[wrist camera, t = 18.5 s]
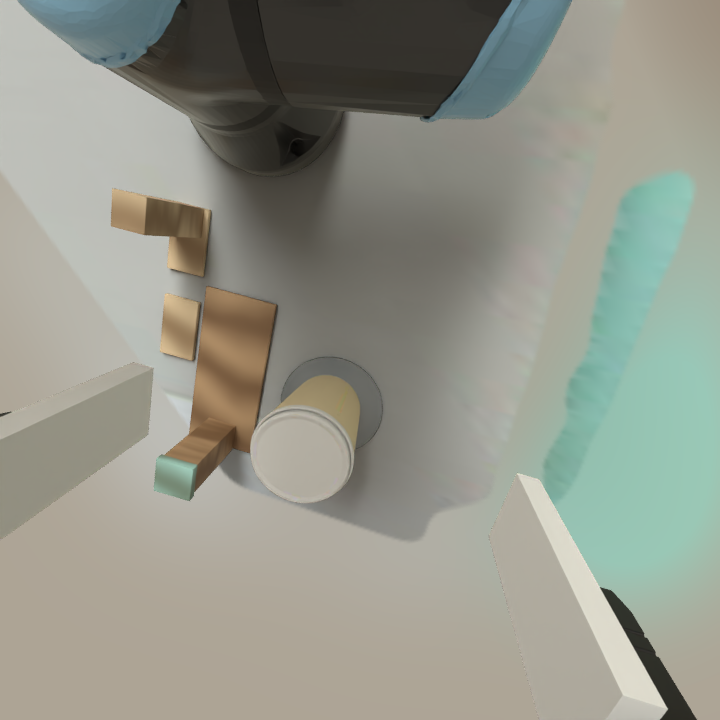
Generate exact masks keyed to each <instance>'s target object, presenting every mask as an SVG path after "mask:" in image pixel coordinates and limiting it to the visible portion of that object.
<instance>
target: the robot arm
mask: <svg viewBox="0 0 720 720" xmlns="http://www.w3.org/2000/svg"><path fill="white" fill-rule="evenodd" d="M17 1H18V2H19V3H20V4H21V5H22V6H23V7H24V9H25V10H26V11H27V12H28V13H29V14H30V15H32V16H33V17H34V18H35V19H36V20H37V21H38V22H40V23H41V24H42V25H43V26H45V27H46V28H48V29H49V30H50V31H52V32H53V33H54V34H56V35H57V36H58V37H59V38H61V39H62V40H63V41H65V42H66V43H67V44H69V45H70V46H71V47H72V48H73V49H74V50H75V51H77V52H78V53H79V54H80V55H81V56H83V57H84V58H86V59H88V60H89V61H91V62H92V63H94V64H99V65H102V66H104V67H106V68H107V69H109V70H111V71H112V72H114V73H116V74H117V75H119V76H121V77H123V78H124V79H126V80H128V81H129V82H131V83H133V84H134V85H136V86H138V87H140V88H141V89H143V90H145V91H146V92H148V93H150V94H151V95H153V96H155V97H157V98H158V99H160V100H162V101H163V102H165V103H167V104H168V105H170V106H172V107H174V108H175V109H177V110H179V111H180V112H182V113H184V114H185V115H187V116H188V117H189V118H190V120H191V122H192V124H193V126H194V127H195V129H196V131H197V132H198V134H199V135H200V137H201V138H202V139H203V141H204V142H205V143H206V144H207V145H208V146H209V147H210V149H212V150H213V151H214V152H215V153H216V154H217V155H218V156H219V157H221V158H222V159H223V160H225V161H226V162H228V163H230V164H232V165H233V166H236V167H238V168H240V169H242V170H244V171H246V172H249V173H252V174H255V175H260V176H270V177H273V176H283V175H287V174H291V173H294V172H296V171H298V170H300V169H302V168H304V167H306V166H307V165H309V164H310V163H312V162H313V161H314V160H315V159H316V158H318V157H319V156H320V155H321V154H322V152H323V151H324V150H325V149H326V147H327V146H328V145H329V143H330V142H331V140H332V139H333V137H334V135H335V133H336V131H337V129H338V126H339V124H340V121H341V118H342V115H343V111H351V112H363V113H376V114H389V115H402V116H414V117H420V120H421V121H424V122H433V121H436V120H438V119H484V118H489V117H491V116H493V115H495V114H496V113H498V112H499V111H500V110H502V109H503V108H505V107H507V106H508V105H509V104H510V103H511V102H512V101H513V100H514V99H515V98H516V97H517V96H518V95H519V94H520V92H521V91H522V90H523V89H524V87H525V86H526V85H527V83H528V82H529V80H530V79H531V77H532V76H533V74H534V73H535V71H536V69H537V68H538V66H539V64H540V63H541V61H542V59H543V58H544V56H545V54H546V52H547V50H548V49H549V47H550V45H551V43H552V41H553V39H554V37H555V35H556V33H557V31H558V29H559V27H560V25H561V23H562V21H563V19H564V17H565V15H566V12H567V10H568V8H569V6H570V4H571V2H572V0H17ZM153 369H154V368H152V367H148V366H145V365H142V364H138V363H134V362H133V363H130V364H128V365H125V366H123V367H121V368H118V369H116V370H113V371H111V372H108V373H106V374H104V375H101V376H99V377H96V378H94V379H92V380H89V381H87V382H84V383H82V384H80V385H77V386H75V387H72V388H70V389H67V390H65V391H62V392H60V393H58V394H55V395H53V396H51V397H48V398H46V399H43V400H41V401H38V402H36V403H33V404H31V405H28V406H26V407H24V408H21V409H19V410H16V411H14V412H7V413H2V414H0V540H1V539H3V538H4V537H6V536H7V535H8V534H10V533H11V532H12V531H14V530H15V529H17V528H18V527H20V526H21V525H22V524H24V523H25V522H27V521H28V520H29V519H31V518H32V517H34V516H35V515H36V514H38V513H39V512H41V511H42V510H43V509H45V508H46V507H48V506H49V505H51V504H52V503H53V502H55V501H56V500H58V499H59V498H60V497H62V496H63V495H64V494H66V493H67V492H69V491H70V490H71V489H73V488H74V487H76V486H77V485H79V484H80V483H81V482H82V481H84V480H85V479H87V478H88V477H90V476H91V475H92V474H94V473H95V472H97V471H98V470H100V469H101V468H102V467H104V466H105V465H107V464H108V463H109V462H111V461H112V460H114V459H115V458H116V457H118V456H119V455H121V454H122V453H123V452H125V451H126V450H127V449H129V448H130V447H132V446H133V445H134V444H136V443H137V442H139V441H140V440H142V439H143V438H144V437H146V436H147V435H148V430H149V418H150V405H151V393H152V381H153ZM489 540H490V543H491V547H492V551H493V554H494V558H495V562H496V565H497V569H498V573H499V576H500V580H501V583H502V587H503V591H504V594H505V598H506V602H507V605H508V609H509V613H510V616H511V620H512V624H513V627H514V631H515V635H516V638H517V642H518V646H519V649H520V653H521V657H522V660H523V664H524V668H525V671H526V675H527V678H528V682H529V686H530V690H531V693H532V697H533V700H534V704H535V707H536V711H537V715H538V719H539V720H697V719H696V718H695V716H694V715H693V713H692V711H691V709H690V708H689V706H688V704H687V703H686V701H685V700H684V698H683V696H682V695H681V693H680V692H679V690H678V688H677V686H676V685H675V683H674V682H673V680H672V678H671V677H670V675H669V673H668V672H667V670H666V668H665V667H664V665H663V663H662V662H661V660H660V658H659V657H656V655H655V650H654V649H653V647H652V645H651V644H650V642H649V640H648V639H647V638H645V637H644V632H643V631H642V629H641V627H640V626H639V624H638V623H637V621H636V619H635V617H634V616H633V614H632V612H631V611H630V610H629V609H628V608H627V607H626V606H625V605H624V604H623V602H622V601H621V600H620V599H619V598H618V597H617V596H616V595H615V594H614V593H613V592H612V591H611V590H608V589H604V588H601V587H599V585H598V584H597V582H596V580H595V578H594V576H593V575H592V573H591V571H590V569H589V568H588V566H587V564H586V562H585V560H584V559H583V557H582V555H581V553H580V551H579V550H578V548H577V546H576V544H575V543H574V541H573V539H572V537H571V535H570V534H569V532H568V530H567V529H566V527H565V525H564V523H563V521H562V519H561V518H560V516H559V514H558V512H557V510H556V509H555V507H554V505H553V503H552V501H551V500H550V498H549V496H548V494H547V493H546V491H545V489H544V487H543V485H542V484H541V482H540V480H539V479H536V478H532V477H529V476H525V475H522V474H518V473H517V474H516V476H515V479H514V481H513V483H512V485H511V487H510V490H509V492H508V494H507V496H506V498H505V501H504V503H503V505H502V508H501V510H500V512H499V514H498V516H497V519H496V521H495V523H494V525H493V528H492V530H491V532H490V535H489Z"/></svg>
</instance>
